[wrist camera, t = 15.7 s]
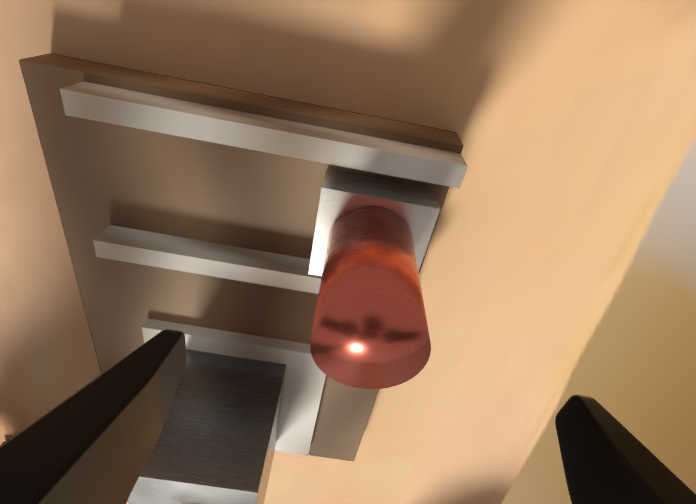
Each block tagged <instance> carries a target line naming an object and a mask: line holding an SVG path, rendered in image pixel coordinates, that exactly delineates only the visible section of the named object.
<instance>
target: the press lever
mask: <svg viewBox="0 0 696 504" xmlns="http://www.w3.org/2000/svg"><path fill="white" fill-rule="evenodd" d="M439 211H440V207H439V204H438V201H437V198H436V195H435V191H434V189H431V188H426V187H421V186H415V185H410V184H404V183H399V182H394V181H388V180H383V179H377V178H372V177H367V176H361V175H356V174H350V173H345V172H340V171H334V170H329V169H326V171H325V175H324V179H323V183H322V187H321V194H320V200H319V207H318V213H317V220H316V227H315V233H314V240H313V247H312V253H311V260H310V267H309V273H308V274H312V275H318V276H322V277H321V283H320V288H319V294H318V300H317V306H316V312H315V318H314V324H313V329H312V335H311V341H310V351H311V355H312V358H313V360H314V362H315V364H316V365H317V366H318V368H319V369H320V370H321V371H322V372H323V373H324V374H326V375H327V376H328V377H330V378H331V379H333V380H335V381H337V382H339V383H342V384H344V385H347V386H351V387H355V388H362V389H381V388H388V387H392V386H396V385H399V384H401V383H404V382H406V381H408V380H410V379H411V378H413V377H414V376H416V375H417V374H418V373H419V372H420V371H421V370H422V369H423V368H424V366H425V365H426V363H427V361H428V359H429V356H430V351H431V346H430V338H429V332H428V326H427V320H426V314H425V309H424V303H423V297H422V291H421V285H420V279H419V273H418V272H419V269H420V266H421V263H422V260H423V257H424V254H425V251H426V248H427V246H428V243H429V240H430V237H431V234H432V231H433V228H434V225H435V222H436V219H437V217H438V214H439Z"/></svg>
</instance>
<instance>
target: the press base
mask: <svg viewBox="0 0 696 504" xmlns="http://www.w3.org/2000/svg"><path fill="white" fill-rule="evenodd" d="M19 62H20V66H21V70H22V74H23V77H24V81H25V85H26V89H27V93H28V96H29V100H30V104H31V108H32V112H33V115H34V119H35V123H36V127H37V131H38V134H39V138H40V142H41V146H42V150H43V153H44V157H45V161H46V165H47V169H48V172H49V176H50V180H51V184H52V187H53V191H54V195H55V199H56V203H57V206H58V210H59V214H60V218H61V222H62V225H63V229H64V233H65V237H66V241H67V244H68V248H69V252H70V256H71V260H72V263H73V267H74V271H75V275H76V279H77V282H78V286H79V290H80V294H81V298H82V301H83V305H84V309H85V313H86V316H87V320H88V324H89V328H90V332H91V335H92V339H93V343H94V347H95V351H96V354H97V358H98V362H99V366H100V370H101V373H104V372H105V371H107V370H108V369H109V368H111V367H112V366H114V365H115V364H116V363H118V362H119V361H120V360H122V359H123V358H125V357H126V356H127V355H129V354H130V353H132V352H133V351H134V350H136V349H137V348H139V347H140V346H141V345H143V344H144V343H146V342H147V341H148V340H150V339H151V338H153V337H154V336H155V335H157V334H158V333H160V332H161V331H163V330H165V329H171V330H177V331H182V332H183V333H184V334H185V341H186V349H189V350H195V351H202V352H208V353H215V354H221V355H228V356H234V357H241V358H247V359H253V360H260V361H266V362H273V363H279V364H286V372H285V380H284V387H283V395H282V403H281V410H280V418H279V425H278V433H277V440H276V446H275V451H279V452H286V453H293V454H300V455H307V456H308V455H313V456H319V457H326V458H333V459H340V460H347V461H354V459H355V456H356V454H357V451H358V448H359V445H360V442H361V439H362V436H363V433H364V431H365V428H366V425H367V422H368V419H369V416H370V413H371V410H372V407H373V405H374V402H375V399H376V396H377V393H378V390H379V389H362V388H355V387H351V386H347V385H344V384H342V383H339V382H337V381H335V380H333V379H331V378H330V377H328V376H327V375H326V374H324V373H323V372H322V371H321V370H320V369H319V368H318V366H317V365H316V364H315V362H314V360H313V358H312V355H311V351H310V341H311V335H312V329H313V324H314V318H315V312H316V306H317V300H318V294H319V288H320V283H321V277H322V276H318V275H312V274H308V273H309V267H310V260H311V253H312V247H313V240H314V233H315V227H316V220H317V213H318V207H319V200H320V194H321V187H322V183H323V179H324V175H325V171H326V169H329V170H334V171H340V172H345V173H350V174H356V175H361V176H367V177H372V178H377V179H383V180H388V181H394V182H399V183H404V184H410V185H415V186H421V187H426V188H431V189H434V191H435V195H436V198H437V201H438V204H439V207H440V211H441V209H442V206H443V203H444V200H445V197H446V194H447V191H448V188H449V187H455V188H460V186H461V183H462V180H463V177H464V175H465V172H466V169H467V164H466V163H465V161H464V159H463V157H462V155H461V151H462V148H463V144H462V142H461V140H460V139H459V137H458V135H457V134H456V132H451V131H446V130H441V129H436V128H431V127H425V126H420V125H415V124H410V123H405V122H400V121H395V120H389V119H384V118H379V117H374V116H369V115H364V114H359V113H353V112H348V111H343V110H338V109H333V108H328V107H322V106H317V105H312V104H307V103H302V102H297V101H292V100H286V99H281V98H276V97H271V96H266V95H261V94H256V93H250V92H245V91H240V90H235V89H230V88H225V87H219V86H214V85H209V84H204V83H199V82H194V81H189V80H183V79H178V78H173V77H168V76H163V75H158V74H153V73H147V72H142V71H137V70H132V69H127V68H122V67H117V66H111V65H106V64H101V63H96V62H91V61H86V60H80V59H75V58H70V57H65V56H60V55H55V54H45V55H40V56H35V57H30V58H25V59H20V60H19ZM440 211H439V214H440ZM439 214H438V217H439ZM438 217H437V219H436V222H435V225H434V228H433V231H432V234H431V237H432V235H433V232H434V229H435V226H436V223H437V220H438ZM431 237H430V240H431ZM430 240H429V243H430ZM429 243H428V246H429ZM428 246H427V248H426V251H425V254H424V257H423V260H424V258H425V255H426V252H427V249H428ZM423 260H422V263H423ZM422 263H421V266H422ZM421 266H420V269H421ZM420 269H419V272H420ZM419 272H418V273H419Z"/></svg>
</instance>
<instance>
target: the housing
mask: <svg viewBox="0 0 696 504" xmlns="http://www.w3.org/2000/svg"><path fill="white" fill-rule="evenodd" d="M186 354H187V358H186V364H185V367H184V370H183V373H182V376H181V378H180V381H179V384H178V387H177V389H176V392H175V395H174V398H173V400H172V403H171V406H170V409H169V411H168V414H167V417H166V420H165V422H164V425H163V427H162V430H161V432H160V435H159V437H158V439H157V441H156V443H155V445H154V447H153V449H152V451H151V454H150V456H149V458H148V460H147V462H146V464H145V466H144V468H143V470H142V472H141V474H140V476H139V478H138V480H137V482H136V484H135V486H134V488H133V490H132V492H131V494H130V496H129V498H128V503H129V504H264V499H265V494H266V489H267V484H268V480H269V475H270V470H271V465H272V460H273V456H274V451H275V446H276V440H277V433H278V425H279V418H280V410H281V403H282V395H283V387H284V380H285V372H286V364H279V363H273V362H266V361H260V360H253V359H247V358H241V357H234V356H228V355H221V354H215V353H208V352H202V351H195V350H189V349H186Z"/></svg>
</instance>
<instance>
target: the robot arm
mask: <svg viewBox="0 0 696 504" xmlns="http://www.w3.org/2000/svg"><path fill="white" fill-rule="evenodd" d="M186 358H187V354H186V341H185V334H184V333H183V332H182V331H177V330H171V329H165V330H163V331H161V332H160V333H158V334H157V335H155V336H154V337H153V338H151V339H150V340H148V341H147V342H146V343H144V344H143V345H141V346H140V347H139V348H137V349H136V350H134V351H133V352H132V353H130V354H129V355H127V356H126V357H125V358H123V359H122V360H120V361H119V362H118V363H116V364H115V365H114V366H112V367H111V368H109V369H108V370H107V371H105V372H104V373H102V374H101V375H100V376H98V377H97V378H95V379H94V380H93V381H91V382H90V383H88V384H87V385H86V386H84V387H83V388H81V389H80V390H79V391H77V392H76V393H74V394H73V395H72V396H70V397H69V398H67V399H66V400H65V401H63V402H62V403H61V404H59V405H58V406H56V407H55V408H54V409H52V410H51V411H49V412H48V413H47V414H45V415H44V416H42V417H41V418H40V419H38V420H37V421H35V422H34V423H33V424H31V425H30V426H28V427H27V428H26V429H24V430H23V431H21V432H20V433H19V434H17V435H16V436H14V437H13V438H12V439H10V440H9V441H8V442H6V441H5V442H3V443H2V444H1V446H0V504H126V502H127V500H128V498H129V496H130V494H131V492H132V490H133V488H134V486H135V484H136V482H137V480H138V478H139V476H140V474H141V472H142V470H143V468H144V466H145V464H146V462H147V460H148V458H149V456H150V454H151V451H152V449H153V447H154V445H155V443H156V441H157V439H158V437H159V435H160V432H161V430H162V427H163V425H164V422H165V420H166V417H167V414H168V411H169V409H170V406H171V403H172V400H173V398H174V395H175V392H176V389H177V387H178V384H179V381H180V378H181V376H182V373H183V370H184V367H185V364H186ZM555 424H556V430H557V435H558V440H559V445H560V451H561V456H562V461H563V466H564V472H565V477H566V482H567V486H568V491H569V495H570V498H571V501H572V504H696V494H695V493H694V492H693V491H692V490H691V489H689V488H688V487H687V486H686V485H685V484H684V483H683V482H682V481H681V480H680V479H679V478H678V477H677V476H676V475H675V474H674V473H672V472H671V471H670V470H669V469H668V468H667V467H666V466H665V465H664V464H663V463H662V462H661V461H660V460H659V459H658V458H657V457H655V456H654V455H653V454H652V453H651V452H650V451H649V450H648V449H647V448H646V447H645V446H644V445H643V444H642V443H641V442H640V441H639V440H637V439H636V438H635V437H634V436H633V435H632V434H631V433H630V432H629V431H628V430H627V429H626V428H625V427H624V426H622V424H620V423H619V422H618V421H617V420H616V419H615V418H614V417H613V416H612V415H611V414H610V413H609V412H608V411H607V410H605V409H604V408H603V407H602V406H601V405H600V404H599V403H598V402H597V401H596V400H595V399H593V398H591V397H588V396H582V395H573V396H571V397H570V398H569V399H568V401H567V402H566V403H565V404H564V406H563V407H562V408H561V409H560V411H559V412H558V413H557V415H556V420H555Z"/></svg>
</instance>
